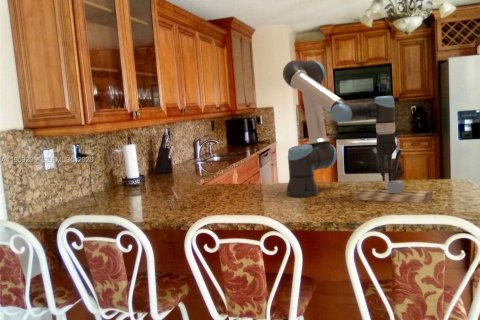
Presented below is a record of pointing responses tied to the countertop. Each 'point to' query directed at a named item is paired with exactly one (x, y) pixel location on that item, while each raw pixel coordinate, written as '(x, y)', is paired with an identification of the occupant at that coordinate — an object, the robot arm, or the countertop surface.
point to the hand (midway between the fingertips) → (387, 188)
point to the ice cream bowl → (398, 173)
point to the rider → (395, 187)
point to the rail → (395, 196)
